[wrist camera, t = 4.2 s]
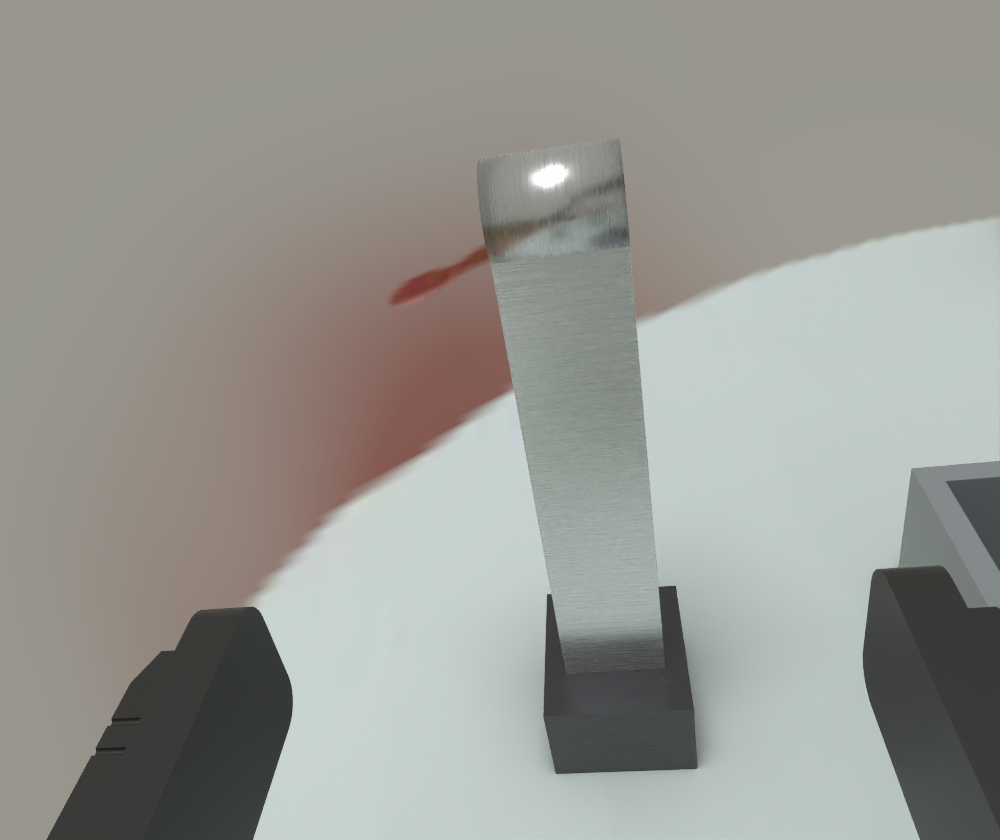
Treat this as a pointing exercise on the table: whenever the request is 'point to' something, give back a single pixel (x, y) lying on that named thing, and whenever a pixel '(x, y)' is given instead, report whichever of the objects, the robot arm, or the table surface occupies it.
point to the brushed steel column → (587, 457)
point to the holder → (956, 527)
